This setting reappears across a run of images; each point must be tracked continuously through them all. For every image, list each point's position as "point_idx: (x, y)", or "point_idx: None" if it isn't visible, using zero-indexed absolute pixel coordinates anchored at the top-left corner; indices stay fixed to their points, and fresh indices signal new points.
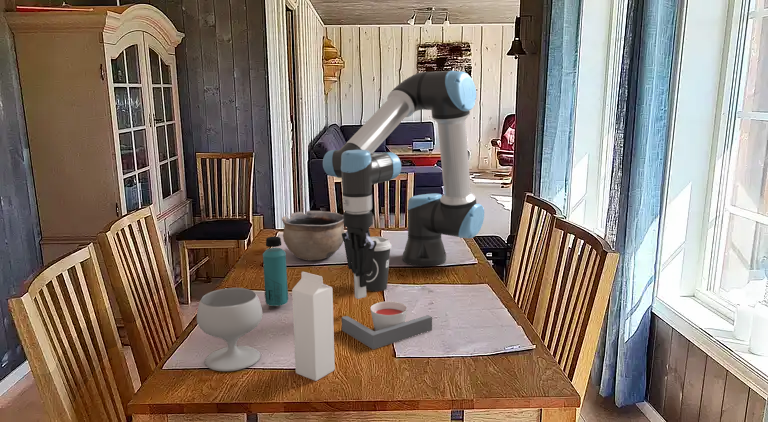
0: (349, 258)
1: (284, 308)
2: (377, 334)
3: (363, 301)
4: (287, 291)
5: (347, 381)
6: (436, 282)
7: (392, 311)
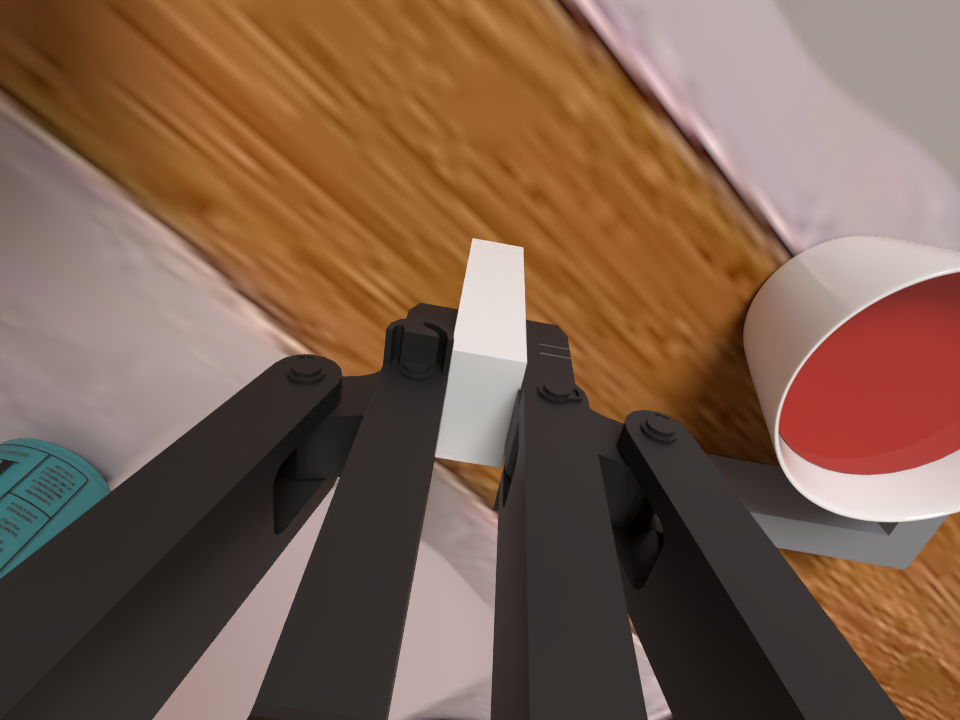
0: (255, 576)
1: (112, 457)
2: (921, 546)
3: (300, 16)
4: (32, 503)
5: (897, 692)
6: None
7: (897, 315)
